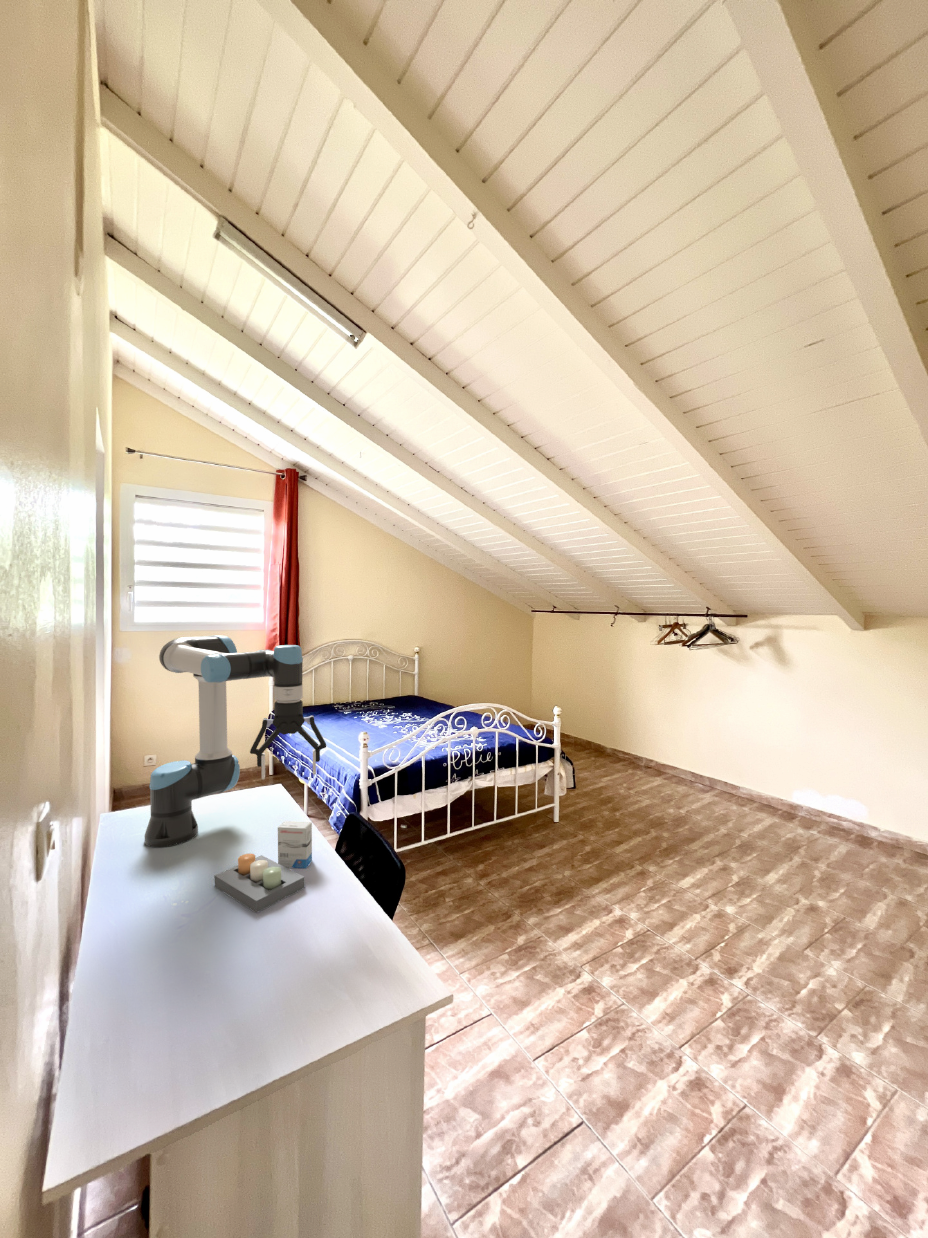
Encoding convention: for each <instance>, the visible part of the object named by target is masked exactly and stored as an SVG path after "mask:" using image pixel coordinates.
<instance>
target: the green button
mask: <svg viewBox="0 0 928 1238" xmlns="http://www.w3.org/2000/svg"><path fill="white" fill-rule="evenodd" d="M280 885H281V868H280V867H270V868H267V869H265V870H264V871H263V887H264V888H265V889H267V890H269V891H270V890H272V889H274V888H276V887H278V886H280Z"/></svg>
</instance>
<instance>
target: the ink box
mask: <svg viewBox="0 0 928 1238" xmlns="http://www.w3.org/2000/svg"><path fill="white" fill-rule="evenodd" d="M312 827H313V822H312V821H310V822H309V821H291V820H290V821H289V820H285V821H283V822H282V823H281V824H280V825H279V826H278V827H277V863H278V864H280V865H282V866H284V867H286V868H288V869H290V868H291V869H307V868H308V867H309V865H310V864H311V863H312V861H313V834H312V833H313V832H312V831H313V828H312Z"/></svg>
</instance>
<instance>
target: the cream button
mask: <svg viewBox="0 0 928 1238" xmlns="http://www.w3.org/2000/svg"><path fill="white" fill-rule="evenodd" d="M267 868H268V861H266V860H258V861H255V862H253V863H251V865H250V880H251V881H253V882H255V883H257V882H260V881H262V880H263V871H264V870H265V869H267Z"/></svg>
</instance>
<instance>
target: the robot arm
mask: <svg viewBox="0 0 928 1238" xmlns="http://www.w3.org/2000/svg"><path fill="white" fill-rule="evenodd" d="M273 649H274V650H271V649H258V650H256V651H247V652H244V651H243V652H238V650H237V646H236V644H235V643H234V640H232V638H230V637H229V636H227V635H216V634H215V635H201V636H183V637H177V638H173V639H171V640H170V641H168V642H166V644H164V645H163V647H162V648H161V649H160V650H159V651H160V652H159V655H158V658H159V662H160V665H161V666H162V667H163V668H164V669H165V670H167V671H168V672H171V673H175V674H182V673H190V674H192V676H193V678H195V679H196V680H197V683H198V718H199V719H198V722H199V723H198V724H199V725H198V726H199V728H198V729H199V731H198V733H199V751H198V752H197V753H196V754H195V756H194V763H191V761H189V760H184V759H183V760H178V761H177V760H175V761H170V762H167V763H165V764H162V765H160V766H158V767H157V768H155V769H154V770H153V771H152V772H151V773H150V777H149V778H150V782H149V785H148V786H149V790H150V791H149V794H150V795H149V797H150V799H149V800H150V819H149V821H148V824H147V827H146V830H145V833H144V844H145V845H146V846H148V847H151V848H167V847H168V848H169V847H172V846H177V845H181V844H183V843H186V842H188V841H191V840H192V839H194V838H195V837H196V836H197V835H198V833H199V826H198V821H197V820H196V817H195V815H194V812H193V810H192V809H193V808H192V806H193V804H192V802H193V801H195V800H197V799H202V798H205V797H209V796H213V795H216V794H222V793H224V792H226V791H229V790H232V789H233V788H235V786H236V785H237V783H238V781H239V778H240V773H241V772H240V771H241V769H240V768H241V767H240V764H239V758H238V757H237V756H236V755H233V751H232V750H231V749H230V748H228V712H227V711H228V710H227V706H228V705H227V704H228V703H227V700H228V699H227V682H230V681H237V680H247V679H248V680H249V679H257V678H259V679H260V678H266V677H267V678H268V677H269V678H273V682H274V683H273V684H274V685H273V687H274V688H273V692H274V693H273V694H274V696H273V697H274V700H275V702H274V705H273V706H274V709H273V710H274V717H273V719H272V718H271V719H268V718H267V717H265V718H263V719H262V723H261V728H260V729H259V732H258V734H257V735H256V738H255V740H254V742H253V743H252V746H251V748H250V750H249V753H250V754H251V755H256V765H257V767H258V768H259V767H260V768H261V780H265V779H266V778H265V777H266V753H265V751H266V749H268V747H270V745H271V744H272V742H273V741H274V740H275V739H276V738H277V737H278V736H279V735H280V734H282V735H283V736H284V735H288V734H290V735H292V734H293V735H294V734H296V733H298V734H299V735H300V736H301V737H303V739H304V740H305V741H306V742H307V743H308V744H309V746H311V747H312V775H314V776H315V775H316V774H317V770H316V769H317V763H319V762H320V761H321V750H322V749H326V748H327V743H326V740H325V739H324V737H323V735H322V734H321V732H320V729H319V728H318V726H317V724H316V723H315V715H313V714H312V715H310V716H303V714H304V713H303V711H304V710H303V706H304V705H303V704H304V703H303V701H302V699H303V697H304V696H303V694H304V693H303V688H304V687H303V664H304V663H303V661H304V658H303V650H302V649H303V648H302V647H301V646H300V645H296V644H284V645H283V644H282V645H276V646H274V648H273ZM304 723H306V724H307V725H310V728H311V729H312V731H313V733H314V734H315V737H316V739H317V740H318V742H319V744H318V742H316V741H315V739H314V738H313V737H312V736H311V735H310V734H309V733H308V732H307V731H306V730H305V729H304V727H303V724H304ZM271 725H273V726H274V727H275V729H274V730H273V732H272V733H271V734H269V735H270V736H268V738H267V739H266V740H265V742H263V744H262V745H261V746H260V747H259V748H258V746H259V744H260V742H261V741H262V739H263V737H264V735H265V732H266V730H267V728H270V727H271Z"/></svg>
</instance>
